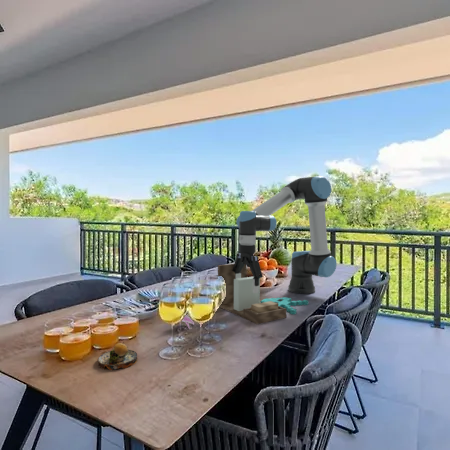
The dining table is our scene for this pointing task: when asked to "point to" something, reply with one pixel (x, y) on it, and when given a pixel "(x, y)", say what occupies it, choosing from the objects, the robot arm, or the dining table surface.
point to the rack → (246, 313)
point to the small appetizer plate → (117, 358)
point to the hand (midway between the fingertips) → (246, 290)
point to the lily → (187, 320)
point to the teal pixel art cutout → (286, 303)
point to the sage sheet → (245, 293)
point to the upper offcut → (264, 307)
